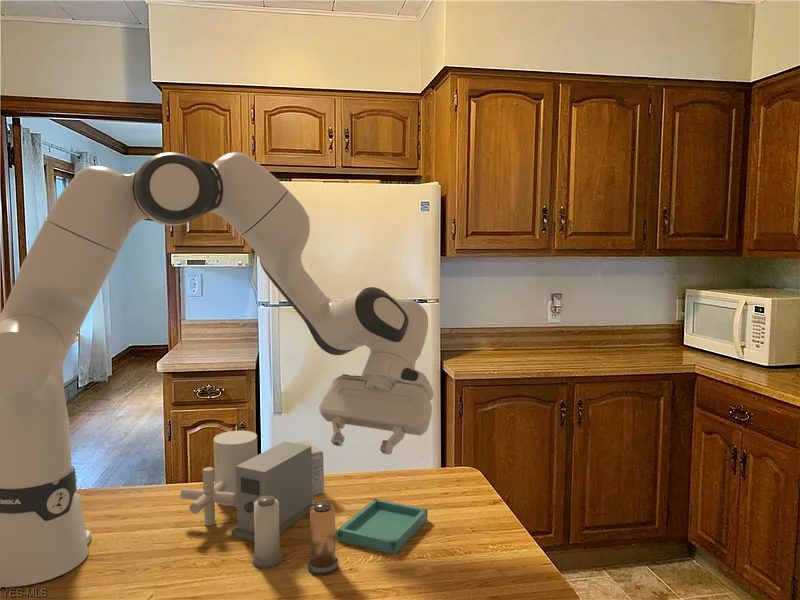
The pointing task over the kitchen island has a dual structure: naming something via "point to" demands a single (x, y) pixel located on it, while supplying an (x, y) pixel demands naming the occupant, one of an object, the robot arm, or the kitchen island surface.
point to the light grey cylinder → (232, 456)
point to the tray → (383, 526)
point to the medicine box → (316, 469)
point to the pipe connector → (208, 496)
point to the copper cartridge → (322, 539)
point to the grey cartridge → (266, 533)
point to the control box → (274, 486)
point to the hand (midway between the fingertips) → (360, 448)
